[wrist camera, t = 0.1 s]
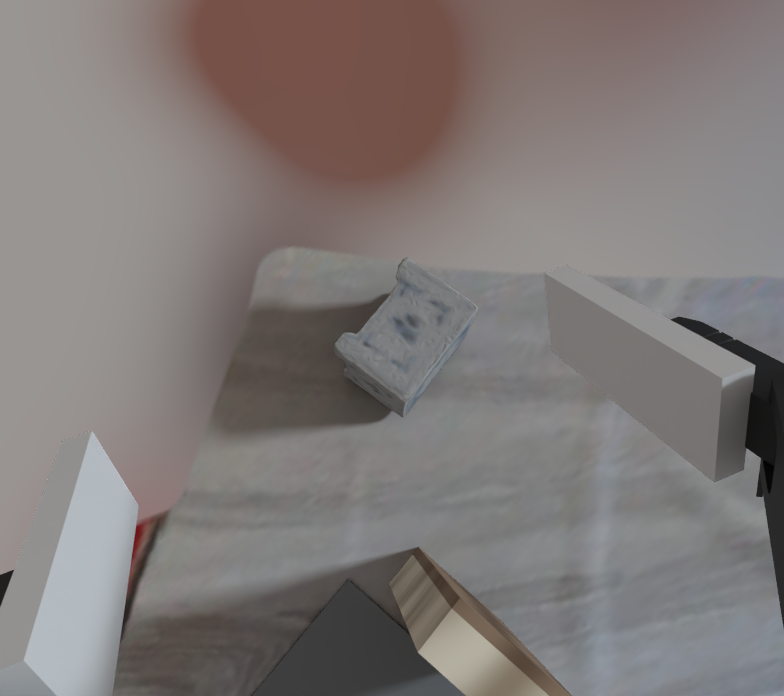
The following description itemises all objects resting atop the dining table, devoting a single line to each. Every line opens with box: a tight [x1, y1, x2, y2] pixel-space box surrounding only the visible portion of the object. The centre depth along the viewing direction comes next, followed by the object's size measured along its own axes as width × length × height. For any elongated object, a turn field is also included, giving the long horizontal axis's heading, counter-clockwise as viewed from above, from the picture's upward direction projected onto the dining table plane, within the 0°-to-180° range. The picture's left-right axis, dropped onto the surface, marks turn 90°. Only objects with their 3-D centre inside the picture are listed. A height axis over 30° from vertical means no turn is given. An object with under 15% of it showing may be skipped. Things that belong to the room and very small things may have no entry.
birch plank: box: [389, 547, 571, 696], centre depth 42 cm, size 10×4×16 cm, turn 49°
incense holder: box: [334, 257, 478, 417], centre depth 48 cm, size 10×8×10 cm
